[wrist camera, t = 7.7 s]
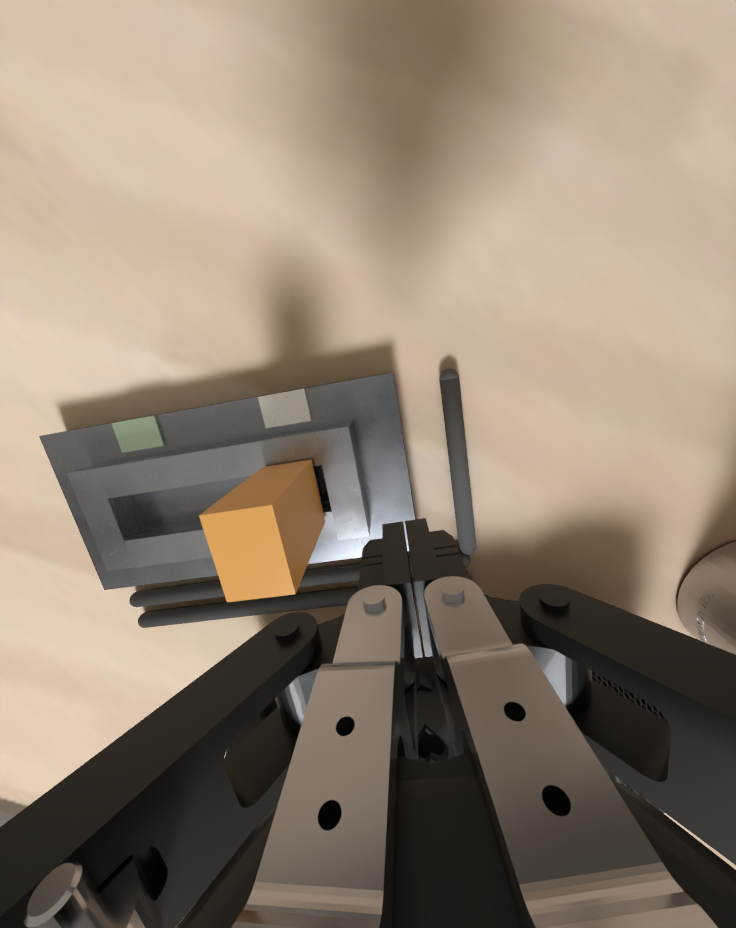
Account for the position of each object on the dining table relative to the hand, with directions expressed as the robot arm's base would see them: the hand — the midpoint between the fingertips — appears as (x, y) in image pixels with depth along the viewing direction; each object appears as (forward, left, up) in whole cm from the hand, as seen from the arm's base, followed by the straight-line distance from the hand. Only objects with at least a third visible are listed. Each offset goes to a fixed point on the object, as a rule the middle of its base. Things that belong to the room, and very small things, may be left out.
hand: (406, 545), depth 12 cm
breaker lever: (+6, 0, -10) cm, 12 cm away
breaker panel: (+11, 0, -13) cm, 17 cm away
